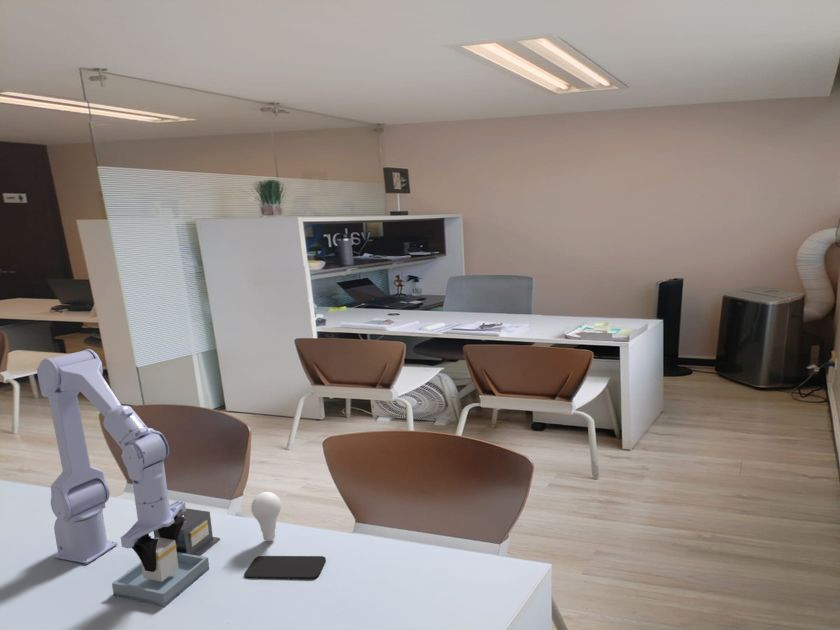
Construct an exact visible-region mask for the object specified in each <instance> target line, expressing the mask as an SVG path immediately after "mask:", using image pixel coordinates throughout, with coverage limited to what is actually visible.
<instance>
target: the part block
mask: <svg viewBox="0 0 840 630" xmlns="http://www.w3.org/2000/svg"><path fill="white" fill-rule="evenodd" d="M154 539H158V542H157V546H156V570H155V571H154V572H150V571H145V569H144V566H143V564H142V562H141V561H140V563H141V565H142V572H143V578H146V579H151V580H156V581H161V582H162V581H164V580H165V579H166V578H167V577H169V576H170V575H171V574H172V573H174V572H175V571H176V570H177V569H179V567H178V559H177V551H176V543H175V540H171V539H165V538H159V537H156V538H154Z"/></svg>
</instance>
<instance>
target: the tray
mask: <svg viewBox="0 0 840 630" xmlns="http://www.w3.org/2000/svg"><path fill="white" fill-rule="evenodd" d="M177 559H178V567H179V569H177V570H176V571H175V572H174V573H172V574H171V575H170V576H169V577H167V578H166V579H165V580H164V581H162V582H161V581H156V580H151V579H146V578H143V572H142V565H141V562H139V563H138V564H136V565H135V566H134V567H133V568H131V569H130V570H128V571H127V572H126V573H124V574H123V575H121V576H120V577H119V578H118V579H116V580H114V581H113V582H111V587H112V592H113V593H112V594H113V596H114V597H119V598H124V599H128V600H133V601H137V602H144V603H148V604H152V605H157V606H162V607H166V606H168V605H169V604H170V603H171V602H172V601H174V600H175V599H177V597H178V596H180V595H181V594H182V593H183V592H184V591H185V590H186V589H188V588H189V587H190V586H191V585H192V584H194V583H195V582H196V581H197V580H198V579H200V578H201V577H202V576H203V575H204V574H205V573H207V572H208V571H209V570H210V563H209V557H206V556H202V555H201V556H197V555H191V554H185V553H180V552H177Z"/></svg>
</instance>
